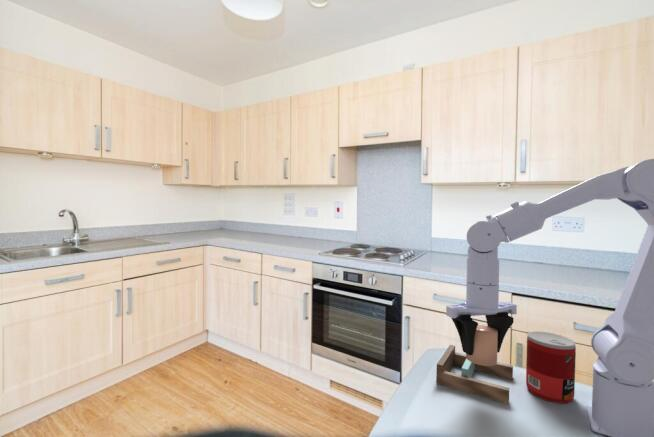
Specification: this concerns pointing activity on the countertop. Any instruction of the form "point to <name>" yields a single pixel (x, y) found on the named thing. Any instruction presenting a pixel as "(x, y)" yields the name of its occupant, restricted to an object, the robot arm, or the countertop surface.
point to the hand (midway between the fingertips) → (481, 351)
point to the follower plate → (468, 368)
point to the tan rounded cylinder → (484, 346)
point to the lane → (470, 383)
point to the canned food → (551, 366)
